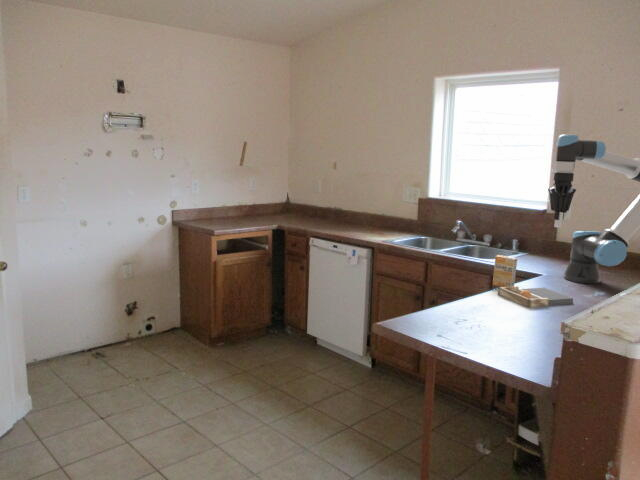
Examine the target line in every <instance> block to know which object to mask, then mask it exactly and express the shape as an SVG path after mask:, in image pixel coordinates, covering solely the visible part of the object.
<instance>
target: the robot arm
mask: <svg viewBox="0 0 640 480" xmlns="http://www.w3.org/2000/svg"><path fill="white" fill-rule="evenodd" d="M556 146H557V149H556V157H555V164H554V171H555V172H554V175H553V181H554V183H553V184H552V185H553V186H552V187H549V188H548V190H547V191H548V193H549V201H550V210H551V211H552V212H554V217H553V219H554V225H553V226H554V228H557V229H562V226H563V220H564V217H565V213H567V212H568V211H570V207H571V204H572V200H573V197H574V195H575V193H576V191H577V188H574V187H573V184H572V183H573V181H574V178H575V177H574V176H575V174H574V172H575V169H576V161H578V162H583V163H585V164H588V165H589V164H590V165H593V166H596V167H599V168H602V169H605V170H609V171H611V172H616V173H617V174H622V175H625V177H626V178H627V179H630V180H633V181H635V182H637V183H638V182H639V183H640V157H635V158H631V157H629V156H626V155H625V156H624V155H621V154H619V153H615V152H612V151H608V150H607V149H606V148H607V146H606V143H605V142H603V141H602V140H588V139H587V140H584V139H583V140H581V139H579V136H578V135H577V134H561V135H559V136H558V140H557V144H556ZM639 228H640V193H639V194H638V195H637V196H636V198H635V199H634V200H633V201H632V202H631V204H630V205H629V206H628V207H627V208H626V209H625V211H624V212H623V213H622V214H621V215H620V217H618V219H617V220H616V221H615V222H614V223H613V224H612V225H611V227H610V228H605V229H603V230H602V231H592V230H591V231H588V230H578V231H574V232H573V235H572V239H571V240H572V242H571V250H570V257H569V263H568V265H567V267H566V269H565V271H564V273H563V278H564V279H565V280H567V281H570V282H574V283H575V282H576V283H580V284H599V283H600V282H601V276H600V271H599V266H598V265H602V266H605V267H615V266H617V265H620V264H621V263H622V262H624V261H625V259H626V258H627V256H628V255H627V254H628V253H627V252H628V247H629V246H630V244H629V240H630V239H631V238H632V237H633V235H634V234H635V233H636V232H637V231H638V230H639Z"/></svg>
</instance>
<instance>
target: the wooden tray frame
mask: <svg viewBox="0 0 640 480" xmlns="http://www.w3.org/2000/svg"><path fill="white" fill-rule="evenodd" d="M518 289H520V288H519V286H518V285H517V286H516V285H514V286H512V287H500V286H498V290H497V291H498V292H497V295H499V296H501V297H503V298H506V299H508V300H510V301H512V302H515V303H516V304H519V305H522V306H524V307H527V308H539V307H548V306H549V305H548V299H549V298H536V299H529V298H526V297H524V296H521V295H519V294H518Z"/></svg>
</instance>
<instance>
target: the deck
mask: <svg viewBox="0 0 640 480" xmlns="http://www.w3.org/2000/svg"><path fill="white" fill-rule="evenodd" d="M523 290H527V291H529V292H530V293H531V297H530V299H536V298H549V299H548V306H554V305H566V304H567V305H568V304H573V303H574V298H573V297H571V296H568V295H565V294H562V293H560V292H557V291H554V290H552V289H549V288H546V287H533V288H519V289H518V294H519V295H520V293H521V292H522V291H523Z"/></svg>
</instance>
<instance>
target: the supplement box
mask: <svg viewBox="0 0 640 480" xmlns="http://www.w3.org/2000/svg"><path fill="white" fill-rule="evenodd" d="M494 259H495V260H494V266H493V267H494V269H493V275H492V276H493V277H492V286H495V287H512V286H515V281H516V275H517V274H516V272H517V266H518V265H517V264H518V257H513V256H507V255H501V254H497V255H495V258H494Z"/></svg>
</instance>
